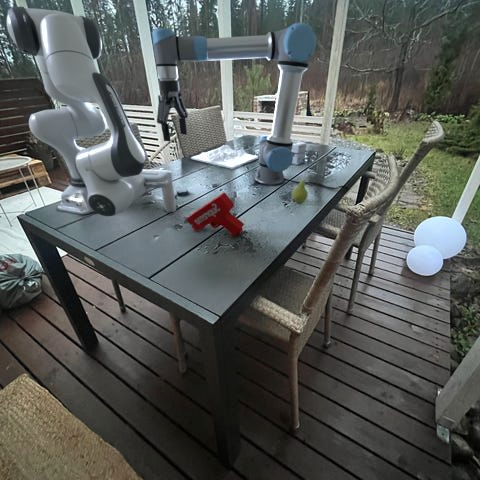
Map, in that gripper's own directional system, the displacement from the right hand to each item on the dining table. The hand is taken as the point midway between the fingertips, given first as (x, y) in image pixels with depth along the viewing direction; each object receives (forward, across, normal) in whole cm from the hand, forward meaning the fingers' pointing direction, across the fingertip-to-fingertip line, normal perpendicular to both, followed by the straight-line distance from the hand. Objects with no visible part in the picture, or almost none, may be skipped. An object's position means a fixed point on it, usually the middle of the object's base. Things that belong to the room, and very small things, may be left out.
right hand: (176, 137), depth 116 cm
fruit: (+26, -9, +54) cm, 61 cm away
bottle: (+26, +16, +3) cm, 31 cm away
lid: (+24, 0, 0) cm, 24 cm away
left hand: (+5, +28, +5) cm, 29 cm away
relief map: (+26, -61, -3) cm, 66 cm away
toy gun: (+26, +27, +29) cm, 47 cm away
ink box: (+26, -66, +44) cm, 84 cm away
